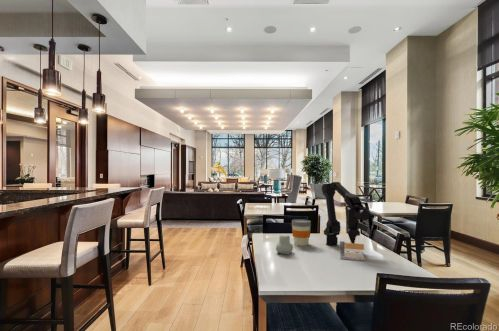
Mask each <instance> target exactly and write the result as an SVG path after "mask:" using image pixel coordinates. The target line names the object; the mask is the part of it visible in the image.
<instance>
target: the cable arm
mask: <svg viewBox="0 0 499 331" xmlns="http://www.w3.org/2000/svg"><path fill="white" fill-rule="evenodd" d="M340 248H341V249H345V248H346V249H358V250H362V251H364V250H365V244H364V243H351V242H346V241H343V240H341V241H340V240H339V249H340Z"/></svg>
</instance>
